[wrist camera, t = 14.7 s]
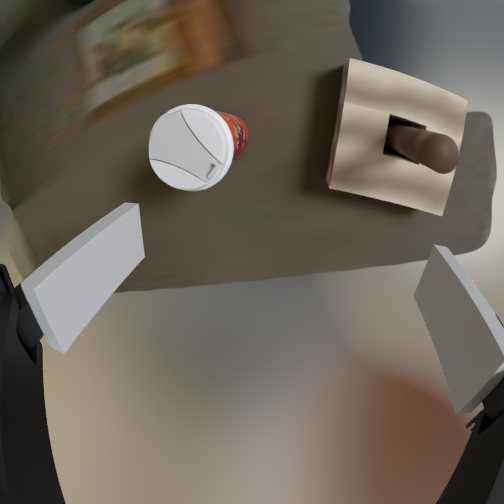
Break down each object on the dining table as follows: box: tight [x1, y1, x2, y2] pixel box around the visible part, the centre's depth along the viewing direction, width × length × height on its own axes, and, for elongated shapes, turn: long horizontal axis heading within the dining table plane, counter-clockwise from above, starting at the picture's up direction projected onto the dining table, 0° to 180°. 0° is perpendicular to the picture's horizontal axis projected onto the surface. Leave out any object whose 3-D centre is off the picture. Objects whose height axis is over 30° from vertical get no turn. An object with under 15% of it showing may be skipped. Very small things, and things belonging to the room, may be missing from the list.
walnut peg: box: [385, 124, 459, 174], centre depth 25 cm, size 4×4×15 cm
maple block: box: [326, 58, 468, 216], centre depth 29 cm, size 16×16×5 cm
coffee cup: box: [149, 104, 249, 191], centre depth 29 cm, size 8×8×15 cm
